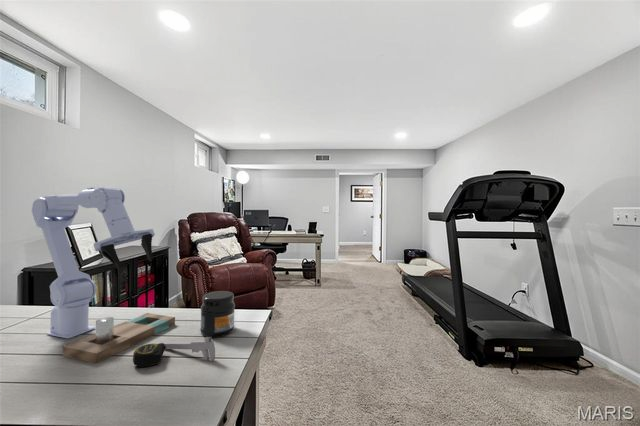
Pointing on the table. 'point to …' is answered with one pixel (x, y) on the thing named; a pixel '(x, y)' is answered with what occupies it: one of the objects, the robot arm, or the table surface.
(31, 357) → the table surface
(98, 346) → the board
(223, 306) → the supplement container
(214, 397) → the table surface
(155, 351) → the tape measure
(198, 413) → the table surface
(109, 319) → the metal pin
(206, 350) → the caliper
